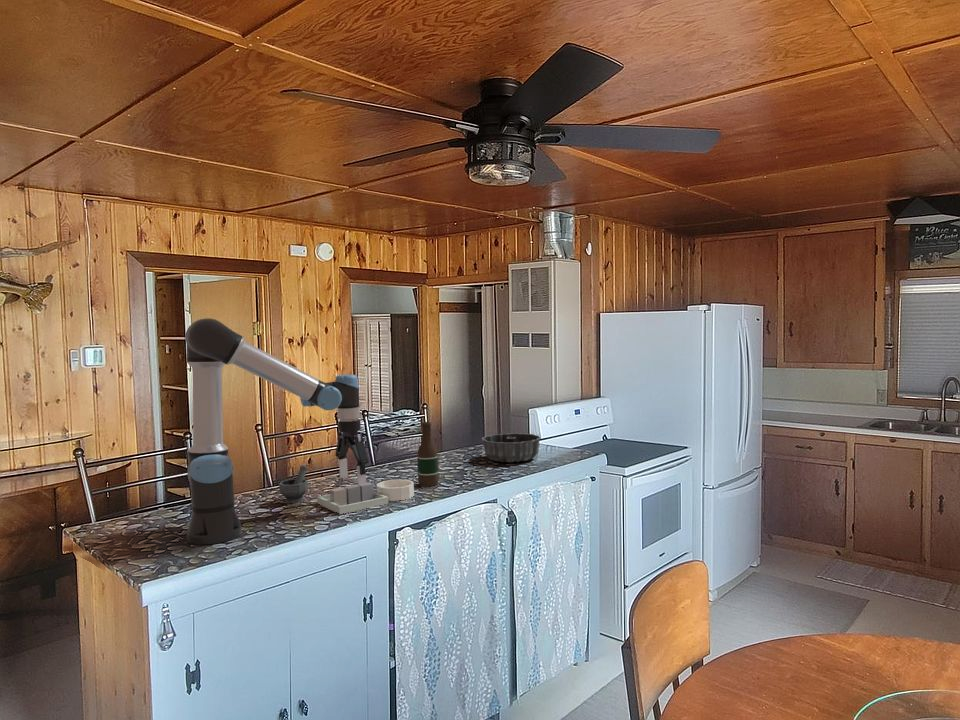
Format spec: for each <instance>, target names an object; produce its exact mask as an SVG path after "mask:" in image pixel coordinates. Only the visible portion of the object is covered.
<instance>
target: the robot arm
mask: <svg viewBox="0 0 960 720" xmlns="http://www.w3.org/2000/svg"><path fill="white" fill-rule="evenodd" d="M186 329H187V330H186V332H185V336H184V337H185V338H184V339H185V343H186V364H188V365H189V366H190V367H191V368H192V369H191V370H192V371H191V373H192V374H191V375H192V376H191V377H192V420H193V421H192V431H193V432H192V434H193V435H192V436H193V437H192V438H193V443H192V446H191V447H190V448H189V449H187V454H188V455H187V458H188V459H187V460H188V466H187V469H186V470H187V471H186V473H187V478H188V481H189V484H190V485H189V486H190V499H191V500H190V501H191V517H190V520H189V524H188V526H187V527H188V528H187V531H186V541H187V542H188V543H190V544H192V543H193V544H192V545H213V544H215V545H216V544H220V543H221V544H222V543H225V542H228V541H229V542H230V541H231V540H234V539H236V538H238V537H240V536H241V535H242V533H243V529H242V524H241V521H240V518H239V516H238V514H237V511H236V508H235V495H234V494H235V492H234V475H233V473H234V472H233V471H234V465H233V462H232V461H233V460H232V459H231V457H229V447H228V446H227V445H226V444H225V443H224V435H223V434H224V432H223V431H224V428H223V427H224V426H223V425H224V422H223V421H224V420H223V419H224V418H223V367H224V366H225V365H226V366H227V365H231V364H232V365H235V366H237V367H238V368H241V369H242V370H244V371H247V372H248V373H251V374H252V375H255V376H256V377H259V378H260V379H262V380H265V381H267V382H269V383H270V384H273V385H275V386H276V387H279V388H280V389H283V390H285V391H287V392H289V393H290V394H293V395H295V396H297V397H299V398H300V403H301V406H303V407H305V408H306V407H318V408H320V409H322V410H324V411H334V410H336V409H337V419H338V422H337V423H338V424H337V425H338V433H337V443H336V450H335V457H336V458H337V459H338V463H339V464H338V466H339V469H338V470H339V479H344V478H349V477H348V476H349V473H348V470H349V469H348V456H347V454H348V452H349V449H350V450H352V452H353V455H354V457H355V459H356V460H355V461H356V475H357V484H358V485H361V484H366V483H367V473H366V465H367V464H369V463H370V462H369V458H368V454H367V451H366V447H365V443H364V438H363V437H364V436H363V435H362V434H359V435H358V432H359V431H361V429H362V426H361V425H362V424H361V420H360V418H361V412H360V411H361V408H360V391H359V389H360V387H359V380H358V379H359V378H358V376H357V375H356V374H352V373H351V374H340V375H336V376H335V380H334V381H331V382H330V381H329V382H324V381H322V380H320V379H318V378H317V377H315V376H312V375H310V374H309V373H306V372H304V371H302V370H301V369H299V368H297V367H295V366H294V365H291V364H290V363H287V362H285V361H284V360H281V359H280V358H278V357H276V356H274V355H272V354H270V353H268V352H266V351H264V350H262V349H261V348H259V347H256V346H255V345H253V344H251V343H249V342H247V341H246V340H245V338H244V336H243V335H241V334H239V333H237V332H235V331H234V330H232V329H231V328H229V326H227V325H225V324H224V323H222V322H221V321H219V320H218V319H214V318H208V317H207V318H200V319H197V320H195V321H194V322H192V323H191V324H190V325H189V326H188V327H187V328H186Z"/></svg>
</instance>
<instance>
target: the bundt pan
mask: <svg viewBox="0 0 960 720" xmlns="http://www.w3.org/2000/svg"><path fill="white" fill-rule="evenodd" d="M540 440H541V436H540V435H536V434H534V433H533V434H531V433H518V432H517V433H515V432H512V433H511V432H510V433H499V434H498V433H497V434H490V435H485V436H484V437H482V438H481V441H482V442H483V449H484V453H485V456H486V457H487V458H488V460H490V461H493V460H494V462H500V463H505V462H506V463H513V462H515V463H519V462H526V461H531V460H533V459H534V458H535V457H536V456H537V455H538V453H539V446H540Z"/></svg>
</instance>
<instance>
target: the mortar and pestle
mask: <svg viewBox="0 0 960 720" xmlns="http://www.w3.org/2000/svg"><path fill="white" fill-rule="evenodd" d="M308 470H309V467H308V466H306V465H302V464H301V465H300V466H299V471H298V473H297V474H296V478H293V479H292V478H290V479H286V480H282V481H280V482H279V484H278V486H279V491H280V494H281V495H282V497H284V498H285V499H284V502H285V503H286V504H290V503H293V504H299V503H298V502H300V503H302V502H304V495H305V494H306V493H307V491H308V487H309V480H307V479H305V478H306V477H305V476H306V473H307V471H308ZM301 501H302V502H301Z"/></svg>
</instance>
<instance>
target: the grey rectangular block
mask: <svg viewBox="0 0 960 720" xmlns="http://www.w3.org/2000/svg"><path fill="white" fill-rule="evenodd" d="M343 488H345V489H346V494H347V505H348V504H353V503H358V502H361V497H360V486H358V485H357V484H353V485H346V486H343Z"/></svg>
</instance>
